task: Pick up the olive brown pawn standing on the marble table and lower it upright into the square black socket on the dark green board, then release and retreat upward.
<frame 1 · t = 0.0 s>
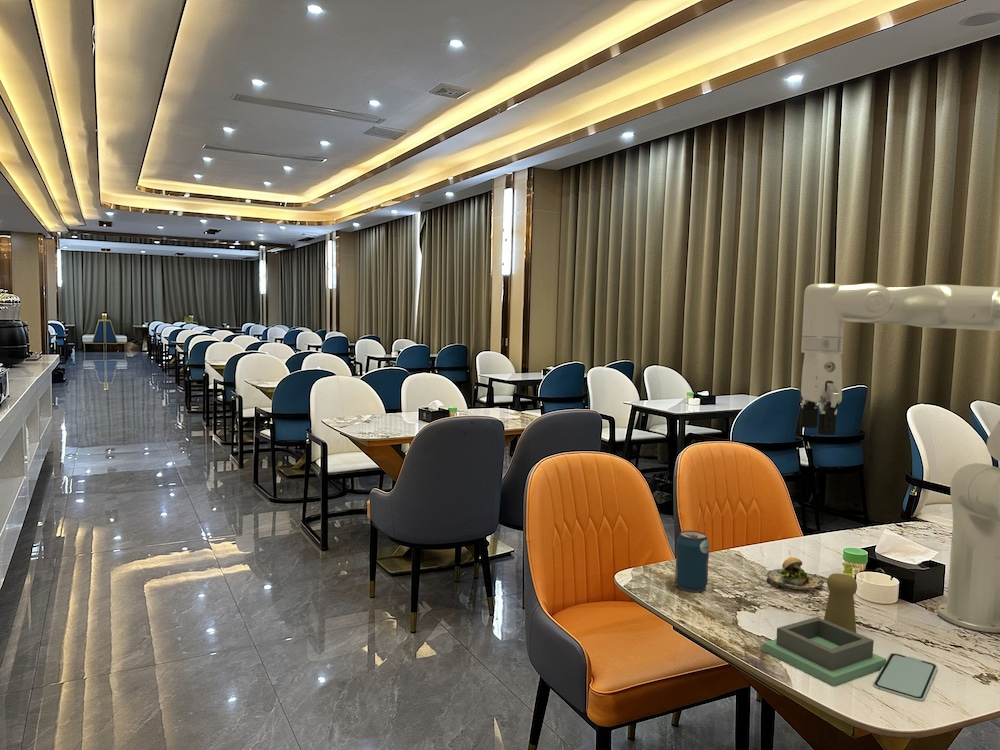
hand: (817, 430, 143), 37 cm above the table, tool pointing down, fingers open, 9 cm apart
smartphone: (905, 680, 119), on the table
soda can: (690, 588, 158), on the table
socket board: (823, 658, 125), on the table
olive brown pawn: (839, 632, 136), on the table
burger: (794, 586, 161), on the table
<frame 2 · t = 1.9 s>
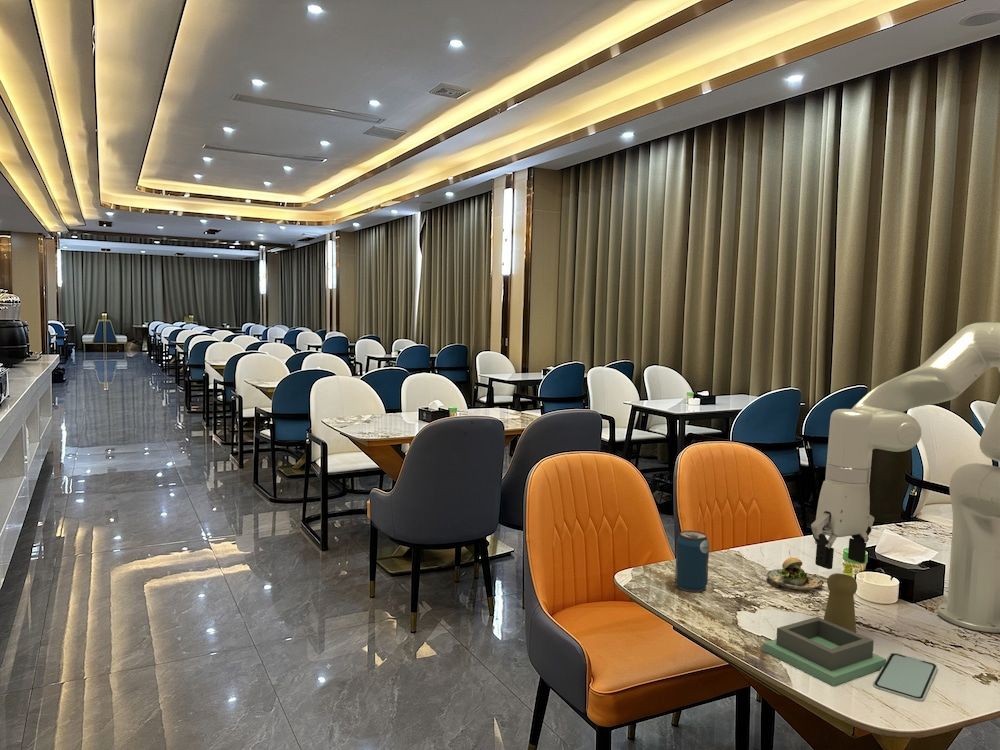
hand: (840, 563, 135), 13 cm above the table, tool pointing down, fingers open, 9 cm apart
nothing on the table moved.
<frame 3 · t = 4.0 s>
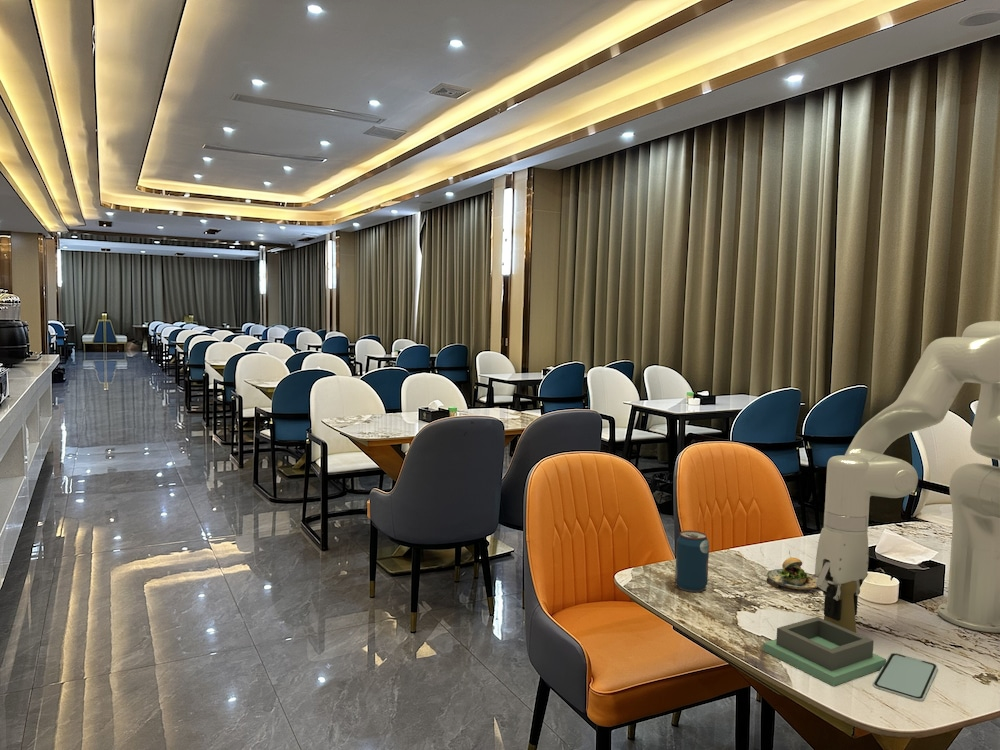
hand: (840, 614, 136), 3 cm above the table, tool pointing down, fingers closed on olive brown pawn, 4 cm apart
olive brown pawn: (839, 632, 136), on the table, touching gripper
everything else where it was.
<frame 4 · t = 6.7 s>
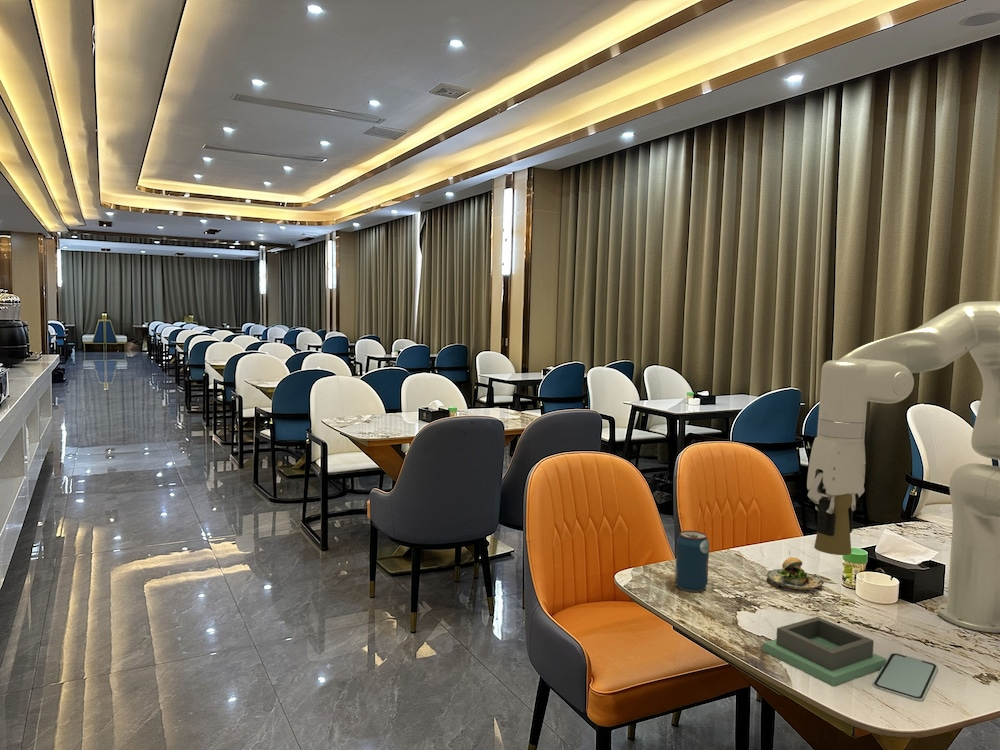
hand: (834, 531, 127), 22 cm above the table, tool pointing down, fingers closed on olive brown pawn, 4 cm apart
olive brown pawn: (832, 550, 127), point 18 cm above the table, touching gripper
everything else where it was.
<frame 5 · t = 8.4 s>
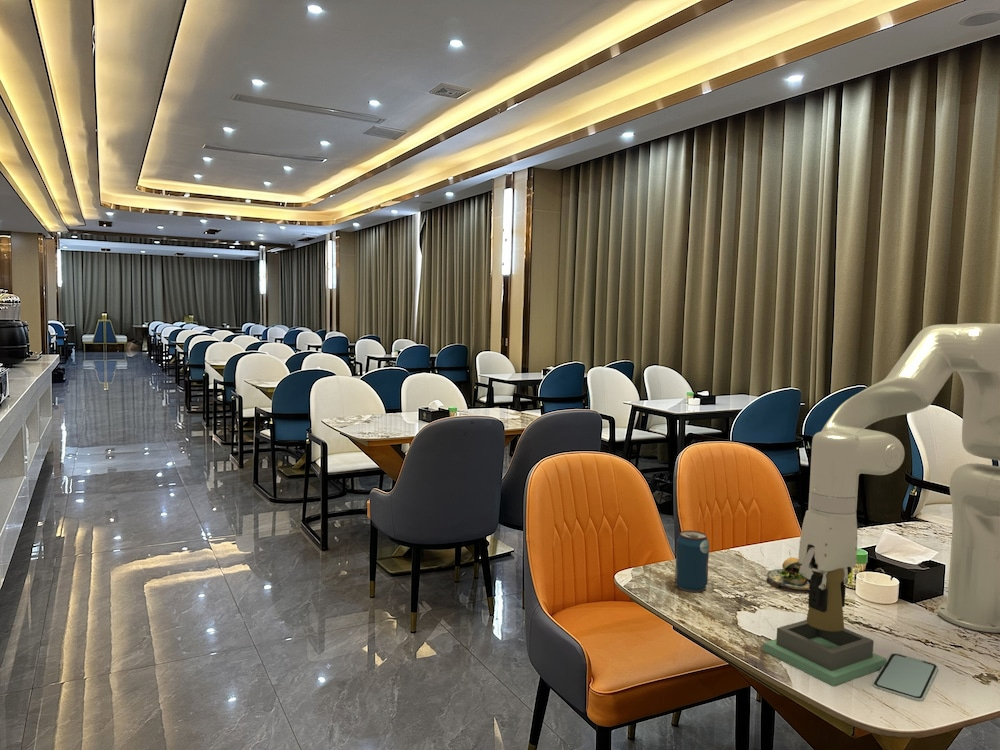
hand: (826, 605, 124), 10 cm above the table, tool pointing down, fingers closed on olive brown pawn, 4 cm apart
olive brown pawn: (824, 625, 124), point 6 cm above the table, touching gripper
everything else where it was.
when the fingers open (6 cm above the table, at t = 9.5 s): olive brown pawn drops 1 cm, resting on socket board.
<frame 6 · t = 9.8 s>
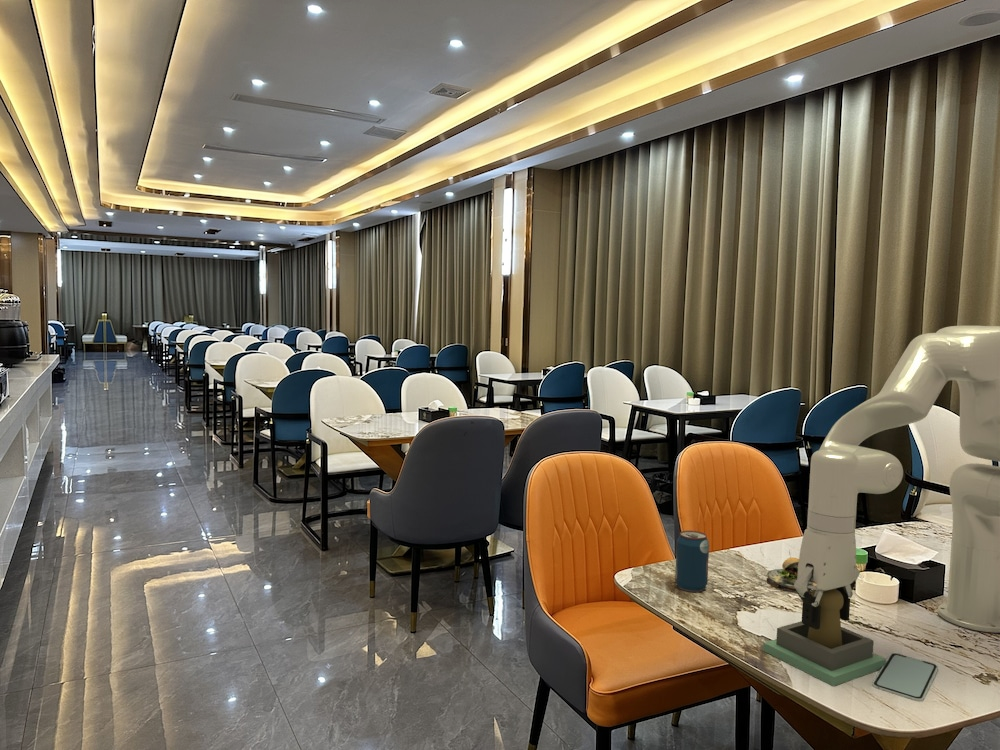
hand: (825, 621, 124), 7 cm above the table, tool pointing down, fingers open, 7 cm apart
olive brown pawn: (824, 651, 125), point 1 cm above the table, touching socket board
everything else where it was.
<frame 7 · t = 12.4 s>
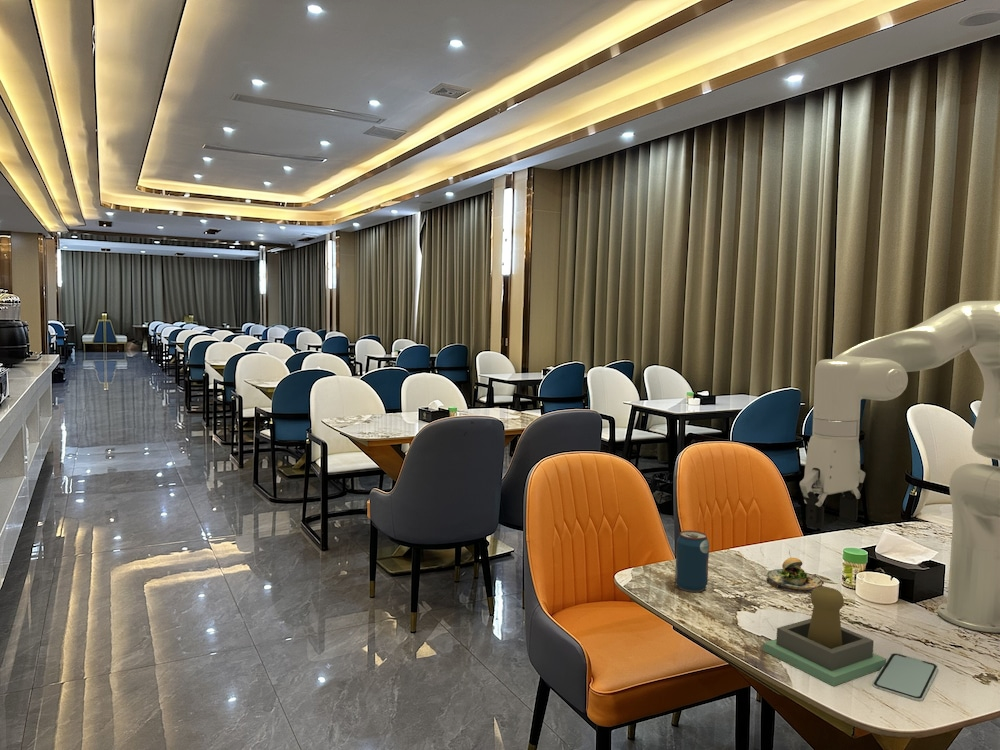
hand: (831, 522, 128), 23 cm above the table, tool pointing down, fingers open, 9 cm apart
nothing on the table moved.
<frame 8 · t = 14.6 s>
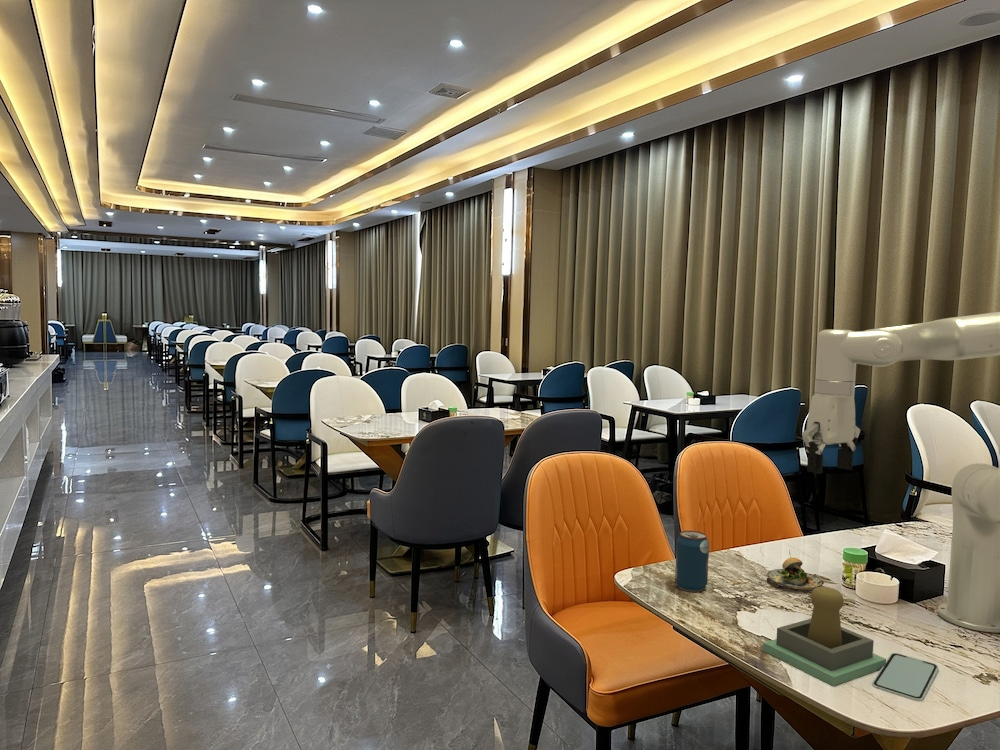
hand: (829, 470, 149), 28 cm above the table, tool pointing down, fingers open, 9 cm apart
nothing on the table moved.
at the end: olive brown pawn 0.2 cm off-centre on the socket board, point 1.3 cm above the socket board's base; olive brown pawn tilted 0°; the gripper is holding nothing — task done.
